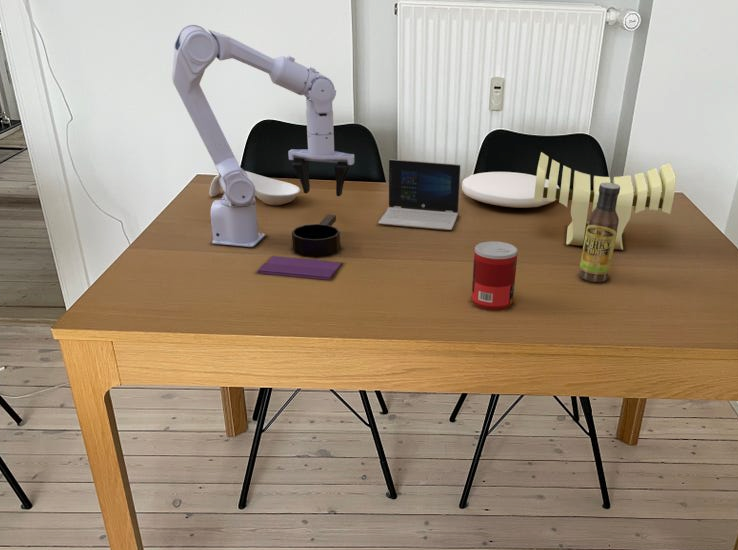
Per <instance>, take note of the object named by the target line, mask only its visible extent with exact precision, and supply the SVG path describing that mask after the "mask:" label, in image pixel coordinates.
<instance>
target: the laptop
mask: <svg viewBox="0 0 738 550" xmlns="http://www.w3.org/2000/svg"><path fill="white" fill-rule="evenodd" d="M460 183H461V164H456V163H446V162H445V163H443V162H431V161H429V162H428V161H420V160H419V161H417V160H407V159H405V160H404V159H393V158H389V159H388V208H387V209H386V211H385V212H384V214H383V215H382V217H381V218H380V219H379V220H378V222H377V224H379V225H383V226H391V227H402V228H403V227H404V228H414V229H416V228H417V229H427V230H436V231H437V230H439V231H452V230H453V228H454V226H455V223H456V221H457V219H458V217H459V203H460V187H461V186H460V185H461V184H460Z"/></svg>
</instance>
